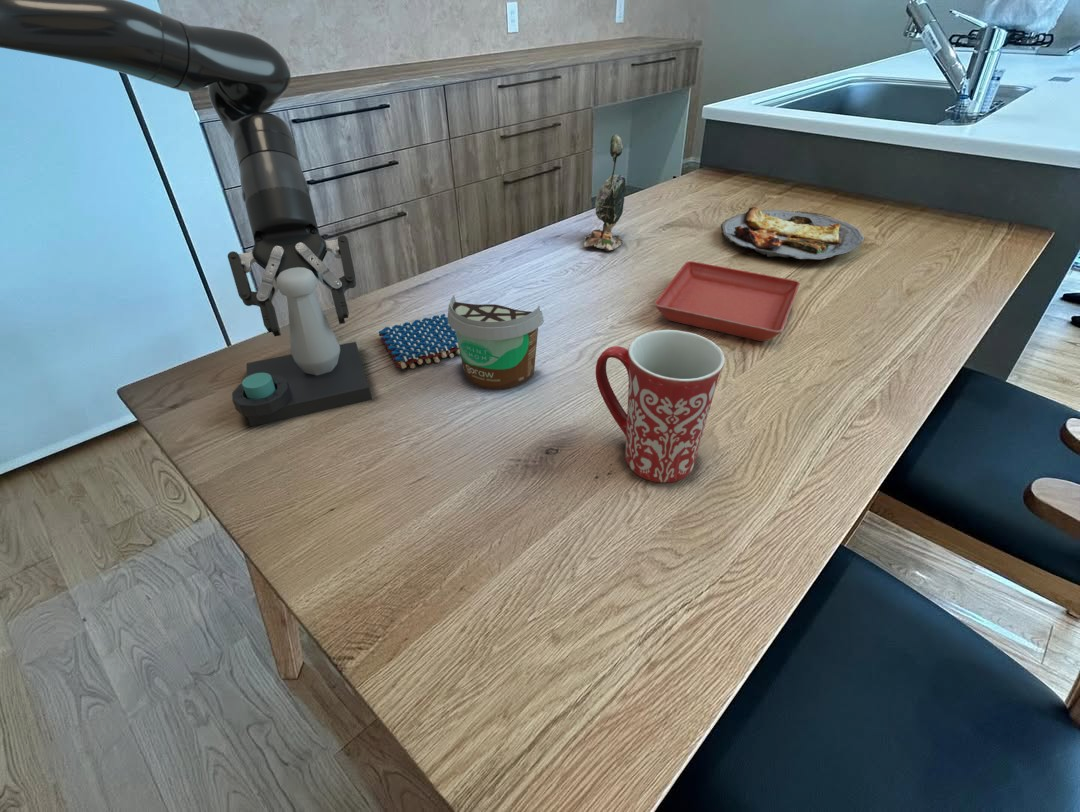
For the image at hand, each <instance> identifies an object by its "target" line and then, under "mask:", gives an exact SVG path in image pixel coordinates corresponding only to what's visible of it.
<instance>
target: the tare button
mask: <svg viewBox="0 0 1080 812" xmlns="http://www.w3.org/2000/svg"><path fill="white" fill-rule="evenodd" d="M241 384H242V386H243V388H244V391H245V393H246V396H247V398H249V399H254V400H257V399H262V398H266V397H268V396H270V395H272V394H273V393H274V392H275V386H274V383H273V380H272V377H271V375H270V374H268V373H256V374H252V375H250V376H248V377H247V376H246V377H244V379H243V380H242V382H241Z"/></svg>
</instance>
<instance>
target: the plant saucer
mask: <svg viewBox="0 0 1080 812" xmlns="http://www.w3.org/2000/svg"><path fill="white" fill-rule="evenodd" d="M800 285H801V282H800V281H798V280H795V279H790V278H785V277H779V276H774V275H768V274H763V273H758V272H752V271H746V270H743V269H742V270H741V269H737V268H731V267H726V266H719V265H714V264H710V263H704V262H699V261H698V262H697V261H694V260H693V261H691V260H689V261H686V262H684V264H683V265H682V266H681V268H680V269H679V270H678V271H677V273H676V274H675V275H674V276H673V278H672V279H671V280H670V282H668V284H667V285H666V287H665V288H664V289H663V291H662V292H661V293H660V294H659V296H658V297H657V299H656V300H655V301H654V302H653V303H654V307H655V308H656V309H657V310H658V312H659V313H660V314H662V315H663V316H664V318H665V319H666V320H668V321H671V322H674V323H677V324H678V323H679V324H683V325H687V326H691V327H697V328H701V329H706V330H710V331H713V332H718V333H724V334H728V335H731V336H736V337H741V338H745V339H750V340H754V341H758V342H766V341H768V340H771V339H773V338H775V337H776V336H778V335H780V334H781V333H782V332H783V331H784V329H785V325H786V323H787V320H788V317H789V315H790V312H791V310H792V307H793V303H794V301H795V298H796V296H797V293H798V291H799V288H800Z"/></svg>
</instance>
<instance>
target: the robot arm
mask: <svg viewBox="0 0 1080 812" xmlns="http://www.w3.org/2000/svg"><path fill="white" fill-rule="evenodd" d="M0 48H1V49H7V50H11V51H18V52H24V53H29V54H35V55H41V56H47V57H52V58H57V59H63V60H67V61H68V60H69V61H73V62H77V63H78V62H79V63H83V64H88V65H92V66H95V67H99V68H103V69H108V70H111V71H115V72H117V73H122V74H125V75H128V76H132V77H135V78H137V79H141V80H144V81H147V82H150V83H154V84H157V85H160V86H163V87H166V88H171V89H174V90H176V91H181V92H185V93H194V92H199V91H201V90H202V89H204V88H206V87H207V93H208V97H209V101H210V103H211V106H212V107H213V109H214V112H215V113H216V115H217V116H218V118H219V120H220V122H221V124H222V126H223V127H224V129H225V131H226V133H227V134H228V136H229V137H230V139H231V141H232V143H233V150H234V153H235V157H236V161H237V165H238V166H237V167H238V170H239V179H240V181H239V182H240V187H241V197H242V200H243V202H244V205H245V209H246V213H247V217H248V221H249V226H250V229H251V235H252V238H253V248H252V250H251V251H248V252H243V253H238V252H237V251H229V253H228V254H227V259H228V263H229V266H230V269H231V272H232V274H231V275H232V277H233V280H234V284H235V287H236V290H237V294H238V297H239V298H240V300H241V301H242V303H243V304H244V306H246V307H251V306H256V307H259V308H260V309H259V310H260V313H261V318H262V322H263V326H264V328H265V330H266V331H267V332H268V333H272V335H273V336H274V337H279V336H282V334H281V333H282V332H281V329H280V326H279V325H280V324H279V321H278V317H277V311H276V309H275V306H274V304H273V302H274V298H275V296H276V294H277V293H278V292H279V288H278V286H277V280H276V278H277V277H278V275H279V274H280V273H281V272H282V271H284V270H287V269H290V268H297V267H302V268H307V269H309V270H311V271H312V272H313V274H314V276H315V278H316V280H317V281H319V282H320V283H321V284H322V285H324V286H325V287H326V288H327V289H328V290H329V291H330V292H331V296H332V300H333V304H334V308H335V312H336V316H337V320H338V324H339V325H342V324H345V323H346V320H345V319H348V318H349V314H350V312H349V307H348V304H347V300H346V296H345V293H346V292H347V290H349V289H355V287H357V279H356V278H357V277H356V273H355V268H354V263H353V257H352V252H351V248H350V243H349V239H348V237H347V236H346V235H344V234H342V235H339V236H338V237H337V239H331V240H325V239H324V238H323V237H322V236H321V234H320V231H319V227H318V222H317V219H316V215H315V214H316V213H315V211H314V207H313V203H312V198H311V196H310V189H309V187H308V183H307V180H306V177H305V174H304V172H303V170H302V167H301V164H300V160H299V156H298V152H297V148H296V144H295V141H294V137H293V134H292V131H291V129H290V127H289V125H288V124H287V122H285V120H283V119H282V117H280V116H278V115H276V114H274V113H270V112H268V111H269V110H270V109H271V108H272V107H273V106H274V105H275V104H276V103H277V102H278V101H279V100H280V99H281V98H282V97H283V96H284V95H285V94H286V93H287V91H288V89H289V87H290V84H291V77H292V76H291V70H290V67H289V65H288V63H287V61H286V59H285V57H283V55H282V54H281V53H280V52H279V50H277V48H275V47H274V46H273V45H271V44H270V43H269V42H267V41H266V40H263V39H262V38H260V37H258V36H256V35H253V34H250V33H247V32H242V31H238V30H230V29H224V28H217V27H210V26H202V25H190V24H187V23H185V22H182V21H180V20H178V19H175V18H173V17H171V16H168V15H166V14H162V13H161V12H158V11H155V10H153V9H151V8H148V7H146V6H142V5H140V4H137V3H135V2H132V1H129V0H0ZM328 252H331V253H332V254H333V257H334V258H336V259H339V260H340V261H341V265H342V270H343V271H342V272H343V275H342V276H341V277H339V278H338V277H337V276H336V275H335V274H334V273H333V272H332V271H331V270H330V269H329V267H328V266H327V265H326V263H324V259H325V257H326V255H327V253H328ZM254 263H256V264H257V265H259V266H260V267H261V268H262V269H264V272H263V274H262V276H261V283H260V286H259V287H258V290H257V291H254V290H253V291H252V288H251V285H250V282H249V278H248V275H247V274H249V273H250V272H251V271H252V265H253V264H254Z"/></svg>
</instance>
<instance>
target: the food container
mask: <svg viewBox="0 0 1080 812" xmlns="http://www.w3.org/2000/svg"><path fill="white" fill-rule="evenodd" d="M455 296H456V295H455V294H453V295H452V297H451V298H450V301H449V304H448V309H447V317H448V318H447V320H448V324H449V325H450V327H451V328H452V329H453V330H455V332H456V337H457V341H458V346H459V350H460V354H459V355H460V359H461V364H462V369H463V372H464V376H465V377H466V379H467V381H468V382H469V383H471V384H472V385H474V386H475V387H478V388H481V389H485V390H491V391H500V390H501V391H502V390H503V391H504V390H509V389H513V388H517V387H520V386H521V385H523V384H526V382H528V381H529V380H530V379H531V378H533V376H534V374H535V369H536V355H537V344H538V334H539V327H541V326H542V325H543V323H544V322H545V318H544V315H543V311H542V310H541V308H540V307H541V306H540V305H538V306H537V307H536V308H535V309H534V310H533V311H530V310H529V311H526V310H519V309H514V308H511V307H508V306H503V305H499V304H495V303H494V304H492V303H490V304H489V303H488V304H484V303H483V304H473V303H466V302H458V301H456V297H455Z"/></svg>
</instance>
